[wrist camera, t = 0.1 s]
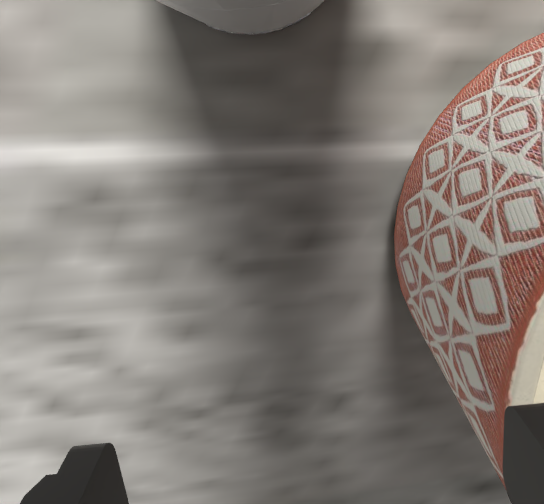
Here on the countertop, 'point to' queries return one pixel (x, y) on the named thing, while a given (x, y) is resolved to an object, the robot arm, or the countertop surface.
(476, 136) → the planter
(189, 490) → the countertop surface
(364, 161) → the countertop surface
